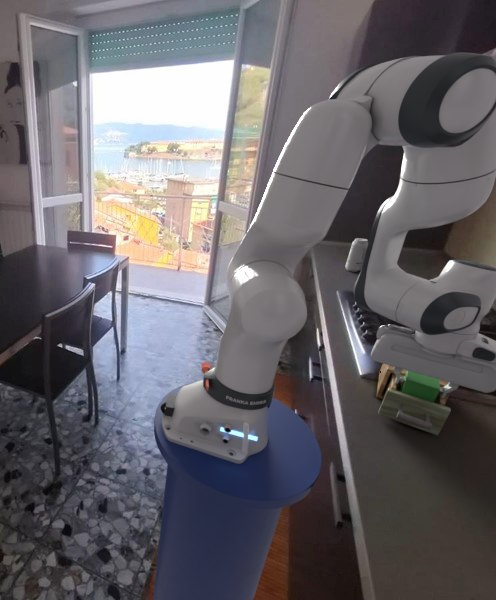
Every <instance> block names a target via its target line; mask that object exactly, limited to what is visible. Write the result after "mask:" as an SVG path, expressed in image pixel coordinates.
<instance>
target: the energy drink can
mask: <svg viewBox="0 0 496 600" xmlns="http://www.w3.org/2000/svg"><path fill="white" fill-rule="evenodd" d="M368 243H369V239H367V238H361V237H356V238H354V240H353V241H352V243H351V247H350V249H349V253H348V256H347V259H346V263H345V270H346V271H348V272H353V273H354V272H355V273H357V272H359V271H361V269H362V266H363V262H364V258H365V255H366V251H367V247H368Z"/></svg>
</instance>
